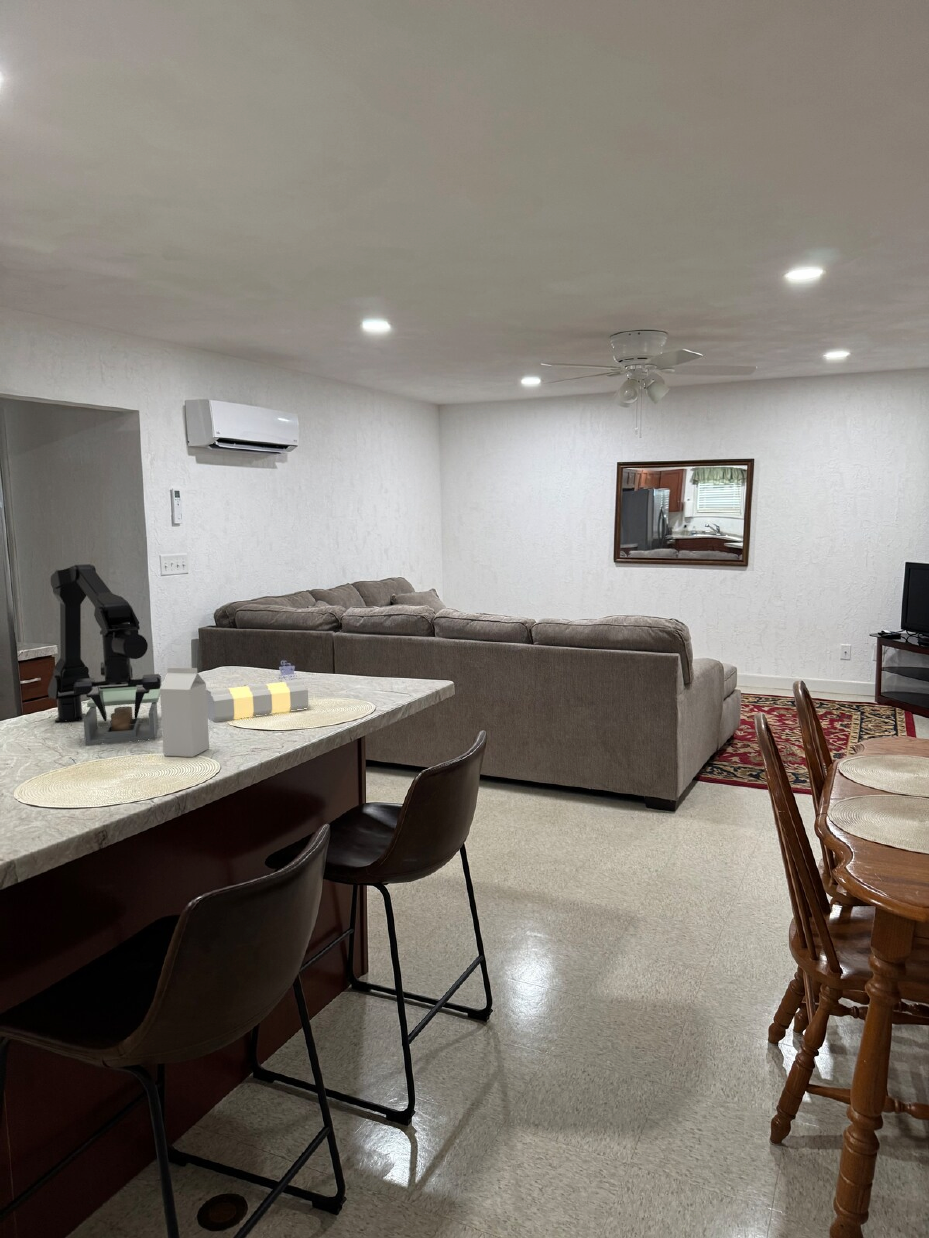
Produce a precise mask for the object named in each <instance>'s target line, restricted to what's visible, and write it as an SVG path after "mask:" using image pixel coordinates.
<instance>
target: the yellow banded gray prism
mask: <svg viewBox="0 0 929 1238" xmlns="http://www.w3.org/2000/svg"><path fill="white" fill-rule="evenodd" d="M286 663H287V665H286ZM280 665H281V666H278V669H279V671H280V675H279V674H278V682H273V683H264V682H259V683H253V684H245V685H244V686H239V687H230V688H228V687H225V686H223V687H217V688H206V695H207V714H208V720H211V721H212V722H213V723H219V722H225V721H226V722H227V721H233V720H232V719H235V720H241V719H240V718H242V719H245V718H244V717H249V718H251V717H250V716H256V715H264V716H266V715H265V714H269V713H275V712H286V711H291V710H297V709H304V708H307V709H308V708H309V690H308V687H307V685H306V684H305V682H304V680H301V679H300V678H297V673H296V672H295V668H296V666H295V665H291V663H290V662H289V663H288V661H287V660H281V661H280ZM285 665H286V666H285ZM286 676H287V678H286ZM283 679H284V680H283Z"/></svg>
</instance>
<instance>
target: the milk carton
mask: <svg viewBox="0 0 929 1238" xmlns="http://www.w3.org/2000/svg"><path fill="white" fill-rule="evenodd" d="M166 669H167V670H166V671H167V673H166V675H165V677H164V679H163V681H162V682H161V684H162V685H161V687H160V697H159V699H160V712H161V713H160V714H161V730H162V731H161V732H162V745H163V746H162V747H163V749H162V750H163V756H165V757H184V758H185V757H186V758H187V757H189V758H193V757H195V756H197V755H199V754H201V753H203V752H204V751H207V750H209V749H210V735H209V721H208V720H209V718H208V714H207V695H206V690H207V682H206V681H204V679H203V678H202V677H201V675H200V674H199V673H198V668H197V667H167V668H166Z"/></svg>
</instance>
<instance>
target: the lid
mask: <svg viewBox="0 0 929 1238" xmlns="http://www.w3.org/2000/svg"><path fill="white" fill-rule="evenodd" d="M124 684H125V683H124ZM110 685H111V684H110ZM112 685H113V684H112ZM101 690H103V698H104V704H105V707H110V706H111V707H112V706H123V705H135V695H136V690H137V687H124V688H109V689H101ZM159 699H160V689H153V690H150V692H149V693H147V694H144V696H143V699H142V701H141V704H150V703H151V704H152V703H154V702H157V703H158V702H159ZM86 705H87V708H90V707H96V708H98V707H97V706H96V704H95V703H94V701H93V700H92V698H91V697H89V700H88V701H87V702H86Z"/></svg>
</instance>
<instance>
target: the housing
mask: <svg viewBox="0 0 929 1238" xmlns="http://www.w3.org/2000/svg"><path fill="white" fill-rule="evenodd" d="M157 703H158V702H154V703H151V704H150V708H149V710H148V722H145V723H143V722H142V723H141V718H140V717H139V718H138V717H137V719H135V718H134V717H133V707H132V706H117V707H115V708H114V711H113V713H116V712H129V718H130V729H131V730H126V731H114V732H112V722H111V720H109V723H108V724H107V725H106V726H105V725H104V726H98V715H97V713H98V711H97V707H89V709H88V711H87V712H86V713H85V716H84V718H83V728H84V729H83V730H84V744H85V746H96V745H95V744H98V745H103V744H102V743H110V744H119V742H121V743H130V742H129V741H133V742H139V741H138V740H145V741H149V740H148V739H155V740H156V737H157V733H158V732H157V731H158V728H159V720H158V719H159V717H158V704H157ZM155 736H156V737H155ZM117 742H118V743H117Z"/></svg>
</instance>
